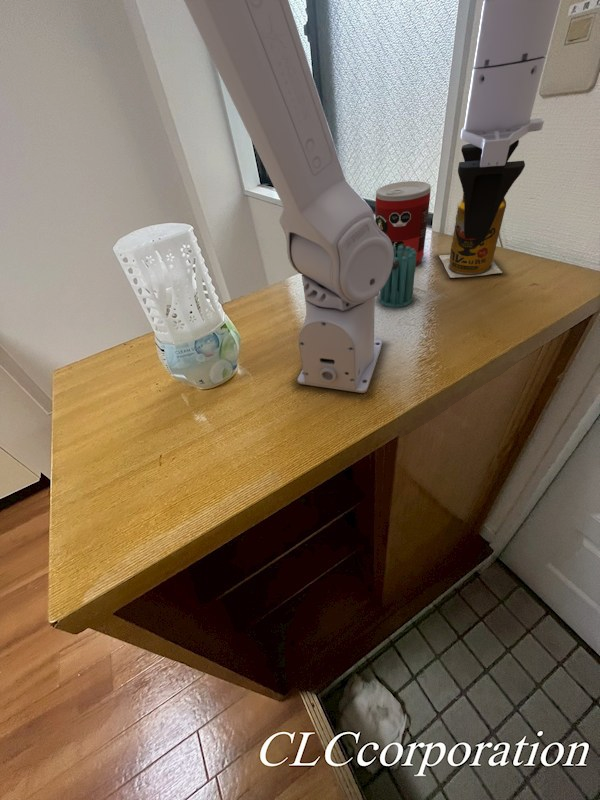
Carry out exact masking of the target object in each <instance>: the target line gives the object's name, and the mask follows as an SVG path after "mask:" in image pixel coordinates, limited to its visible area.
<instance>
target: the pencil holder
mask: <svg viewBox="0 0 600 800" xmlns="http://www.w3.org/2000/svg"><path fill="white" fill-rule="evenodd" d="M397 249H398V252H397V257H396V247H395V246H393V252H394V260H393V266H392V270H391V273H390V276H389V278H388V280H387V282H386V283H385V285H384V286H383V288H382V289H381V290H380V292H379V303H380V304H381V305H382V306H384V307H388V308H402V307H403V308H404V307H405V306H408V305H410V304H411V303H412V301H413V295H414V285H415V274H416V266H417V265H416V256H417V253H416V251H415V249H414V248H412V249H411V248H410V247H409V246H407V247H406V246H405V244H399V245H398V248H397ZM403 253H404V257H403Z"/></svg>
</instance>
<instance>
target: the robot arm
mask: <svg viewBox="0 0 600 800" xmlns="http://www.w3.org/2000/svg"><path fill="white" fill-rule="evenodd" d="M183 1H184V4H185V6H186V8H187V11H188V12H189V14H190V16H191V18H192V20H193V22H194V24H195V26H196V29H197V30H198V33H199V34H200V37H201V39H202V40H203V43H204V45H205V47H206V49H207V51H208V53H209V55H210V57H211V59H212V62H213V64H214V65H215V68H216V69H217V72H218V74H219V76H220V79H221V80H222V82H223V85H224V86H225V89H226V90H227V93H228V95H229V97H230V98H231V101H232V103H233V106H234V107H235V109H236V111H237V113H238V116H239V117H240V120H241V122H242V123H243V126H244V128H245V129H246V131H247V134H248V136H249V139H250V140H251V143H252V144H253V146H254V148H255V151H256V152H257V155H258V156H259V160H260V161H261V163H262V165H263V167H264V169H265V171H266V174H267V176H268V177H269V179H270V182H271V184H272V186H273V187H274V190H275V192H276V194H277V196H278V198H279V200H280V202H281V204H282V206H283V209H282V212H281V214H280V217H279V220H278V221H279V224H280V226H281V228H282V231H283V232H284V235H285V240H286V254H287V259H288V261H289V263H290V266H291V268H293V269H294V271H296V273H298V274H300V275H301V281H302V286H303V294H304V295H303V296H304V301H305V302H304V303H305V318H304V322H303V324H302V326H301V328H300V330H299V333H298V339H297V340H298V341H297V343H298V349H299V355H300V360H301V366H302V369H301V371H300V373H299V375H298V377H297V383H298V384H300V385H304V386H312V387H317V388H318V387H319V388H326V389H333V390H340V391H345V392H352V393H359V394H365V393H366V392H367V391H368V389H369V386H370V383H371V380H372V377H373V374H374V371H375V368H376V365H377V362H378V359H379V356H380V353H381V350H382V347H383V340H382V339H379V338H375V317H376V315H375V314H376V312H375V310H376V297H379V296H380V290H381V289H382V288H383V286H384V285H385V283H386V282H387V280H388V278H389V276H390V273H391V270H392V266H393V260H394V252H393V246H392V243H391V241H390V239H389V237H388V236H387V235H386V234H385V233H384V232H382V231H381V230H380V229H379V227H378V226H377V224H376V221H375V214H374V211H373V209H372V208H371V207H370V205H369V204H368V203H367V202H366V200H365V199H364V198H363V197H362V196H361V195H360V194H359V193H358V192H357V191H356V190H355V188H353V186H352V185H351V184H350V183H349V181H347V179H346V176H345V173H344V169H343V167H342V164H341V161H340V157H339V154H338V152H337V149H336V145H335V141H334V139H333V136H332V133H331V130H330V127H329V123H328V121H327V117H326V114H325V111H324V107H323V105H322V101H321V98H320V95H319V91H318V88H317V85H316V83H315V80H314V76H313V73H312V70H311V67H310V64H309V60H308V58H307V54H306V52H305V47H304V45H303V42H302V39H301V35H300V33H299V29H298V26H297V23H296V20H295V18H294V17H295V16H294V14H293V11H292V8H291V4H290V1H289V0H183ZM560 4H561V0H483V2H482V9H481V16H480V21H479V22H480V23H479V29H478V35H477V42H476V48H475V55H474V61H473V68H472V73H471V81H470V87H469V93H468V99H467V100H468V101H467V107H466V112H465V120H464V126H463V127H462V128H461V132H460V139H461V140H462V141H463V142H466V144H463V145H462V146H461V155H462V157H463V161H459V162H458V166H457V167H458V168H457V174H458V178H459V182H460V184H461V188H462V195H463V194H464V235H465V239H484V238H486V236H487V234H488V232H489V230H490V228H491V226H492V224H493V221H494V219H495V217H496V214H497V212H498V210H499V207H500V205H501V203H502V201H503V199H504V198H506V196H507V194H508V192H509V191H510V189H511V187H512V186H513V185H514V183H515V182H516V180H517V179H518V178H519V177H520V176H521V174H522V173H523V172H524V171H523V170H524V169H525V166H526V163H525V160H514V161H509V160H510V158H511V157H512V155H513V153H514V152H515V151H516V149H517V148H518V146H519V144H520V139H522V138H523V137H524V136H527V134H528V133H531V132H539V131H542V129H543V125H544V122H545V121H544V120H543V118H531V117H532V113H533V109H534V105H535V100H536V98H537V93H538V90H539V86H540V81H541V77H542V74H543V70H544V66H545V62H546V58H547V57H546V56H547V55H548V50H549V47H550V42H551V39H552V34H553V30H554V26H555V24H556V23H555V22H556V19H557V16H558V11H559V8H560Z"/></svg>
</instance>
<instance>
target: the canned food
mask: <svg viewBox="0 0 600 800" xmlns="http://www.w3.org/2000/svg"><path fill="white" fill-rule="evenodd" d="M431 187H432V186H431V184H430V183H428V182H425V181H419V180H411V181H410V180H408V181H406V180H405V181H399V182H393V183H389V184H385V185H383V186H381V187H378V189H377V190H376V191H375V204H374V205H375V212H374V213H375V214H374V218H375V221H376V224H377V226H378V227H379V229H380V230H381V231H382V232H384V233H385V234H386V235H387V236H388V237H389V239H390V241H391V243H392V246H395V247H396V257H397V252H398V249H397V248H398V245H399V244H405V246H406V247H407V246H409V247H410V248H411V249H412V248H414V249H415V251H416V253H417V256H416V266H418V265H420V264H421V262H422V260H423V257H424V252H425V243H426V237H427V236H426V235H427V234H426V233H427V226H428V219H429V212H430V211H429V209H430V201H431V191H432V190H431ZM403 257H404V253H403Z"/></svg>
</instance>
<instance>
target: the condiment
mask: <svg viewBox="0 0 600 800" xmlns="http://www.w3.org/2000/svg"><path fill="white" fill-rule="evenodd" d="M505 198H506V197H504V199H503V201H502V203H501V205H500V207H499V210H498V212H497V214H496V217H495V219H494V221H493V224H492V226H491V228H490V230H489V232H488V234H487V236H486V238H484V239H465V235H464V194H463V193H462V200H461V201H460V203H458V206H457V210H456V217H455V224H454V231H453V235H452V241H451V246H450V254H442V255H440V254H439V255H438V257H439V259H440V261H441V262H442V265H443V266H444V269H445V271H446V273H447V275H448V276H449V278H450V279H455V278H470V277H479V276H480V277H481V276H488V275H494V274H503V271H502V270H501V269H500V268H499V266H498V265H497V264H496V262H495V261H494V257H495V251H496V247H497V243H498V240H499V236H500V231H501V229H502V228H501V227H502V223H503V219H504V216H505V211H506V209H507V201H506V199H505Z"/></svg>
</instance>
